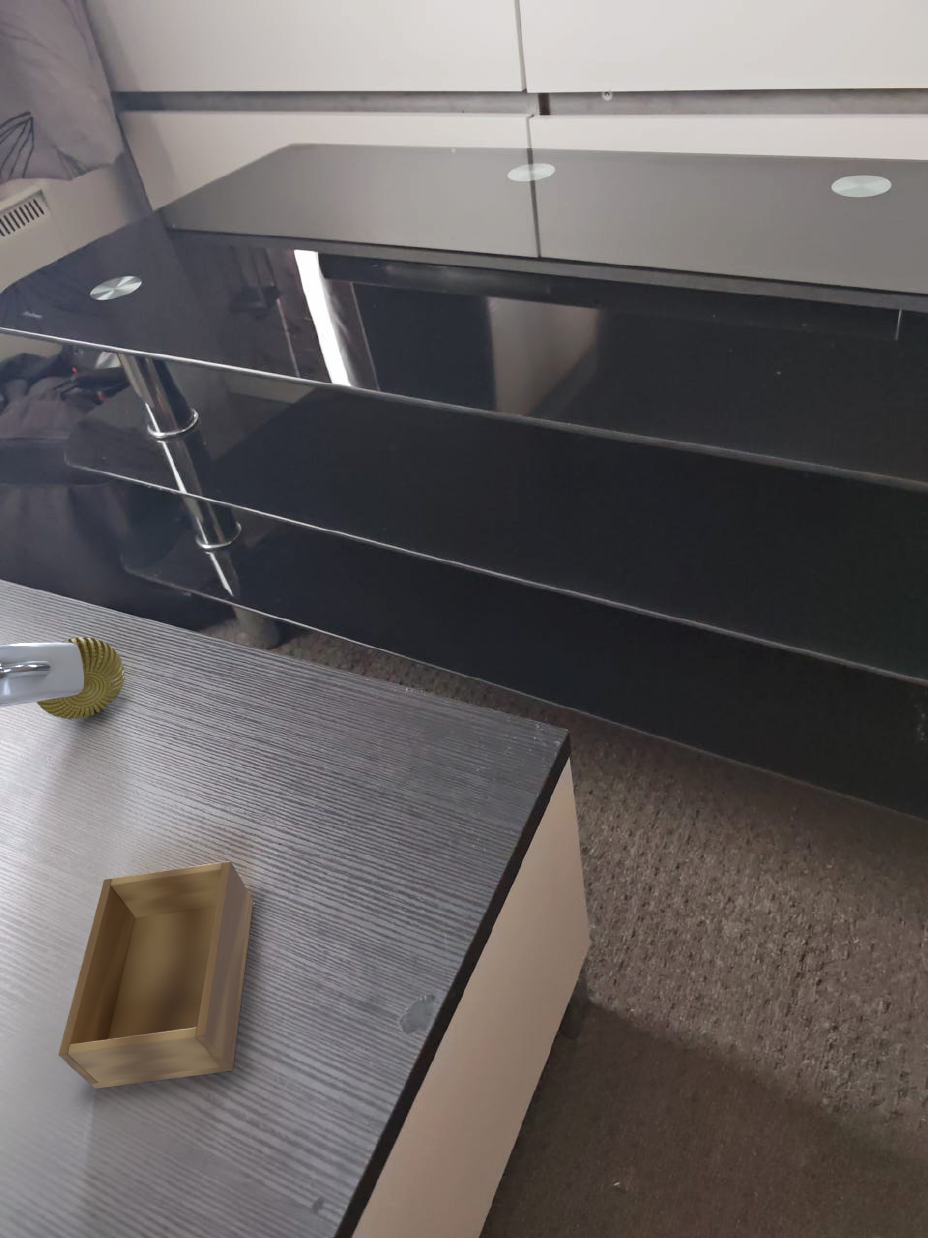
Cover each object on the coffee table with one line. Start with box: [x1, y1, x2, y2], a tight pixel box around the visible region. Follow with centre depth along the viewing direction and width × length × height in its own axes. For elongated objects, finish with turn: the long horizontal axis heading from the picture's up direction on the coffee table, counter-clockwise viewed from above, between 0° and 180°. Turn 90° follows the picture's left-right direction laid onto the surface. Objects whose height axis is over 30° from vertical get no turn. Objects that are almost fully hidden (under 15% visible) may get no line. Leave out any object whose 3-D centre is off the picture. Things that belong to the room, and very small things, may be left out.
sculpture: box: [36, 636, 125, 720], centre depth 83 cm, size 8×4×8 cm, turn 126°
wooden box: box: [58, 860, 254, 1090], centre depth 62 cm, size 9×12×5 cm
